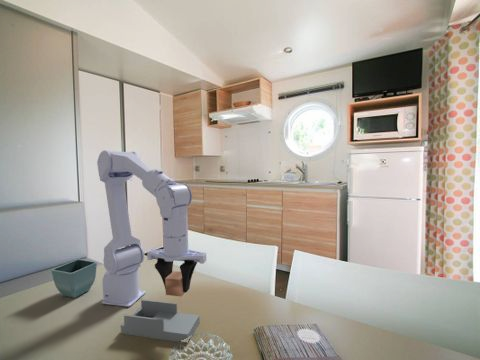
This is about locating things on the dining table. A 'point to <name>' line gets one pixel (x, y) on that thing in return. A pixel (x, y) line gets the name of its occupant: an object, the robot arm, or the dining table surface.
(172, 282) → the terracotta block
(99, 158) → the robot arm
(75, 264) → the flower pot
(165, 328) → the slate trough
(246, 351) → the dining table surface
